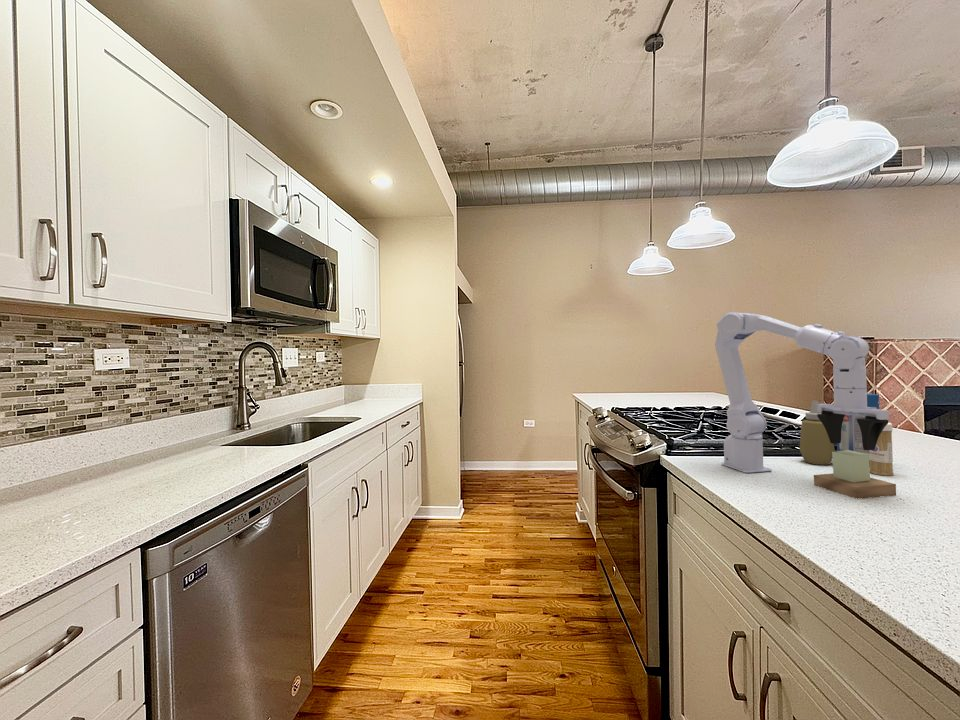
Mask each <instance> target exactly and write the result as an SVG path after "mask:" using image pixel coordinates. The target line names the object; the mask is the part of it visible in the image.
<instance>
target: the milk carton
mask: <svg viewBox="0 0 960 720" xmlns="http://www.w3.org/2000/svg"><path fill="white" fill-rule="evenodd" d="M867 407H869V408H875V409H880V395H879V394H875V393H870V392H867ZM840 412H844V411H840ZM848 413H856V412H848ZM861 418H865V417H860V416H852V415H845V417H844V419H843V423H842V428H841V443H836V451H845V450H850V451H855V452H860V453H865V454H869V450H868V451H867V450H864V449H863V444H862V434H861V430H860V427H859V424H858V422H857V419H861ZM869 467H870V459H869Z"/></svg>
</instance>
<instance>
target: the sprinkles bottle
mask: <svg viewBox="0 0 960 720" xmlns="http://www.w3.org/2000/svg"><path fill="white" fill-rule="evenodd" d="M893 429H894V428H893V423H892V422H888V424H887V425H886V426H885V427H884V429H883V430H882V432H881V434H880V436H879V438H878V441H877V443H876V447H875V450H869V459H870V474H874V475H876V476H877V475H878V476H886V477H889V476H893V475H894V470H893V467H894V466H893V462H894V460H893V459H894V458H893V457H894V456H893V454H894V452H893V439H892V438H893V437H892V435H893V434H892V433H893Z"/></svg>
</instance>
